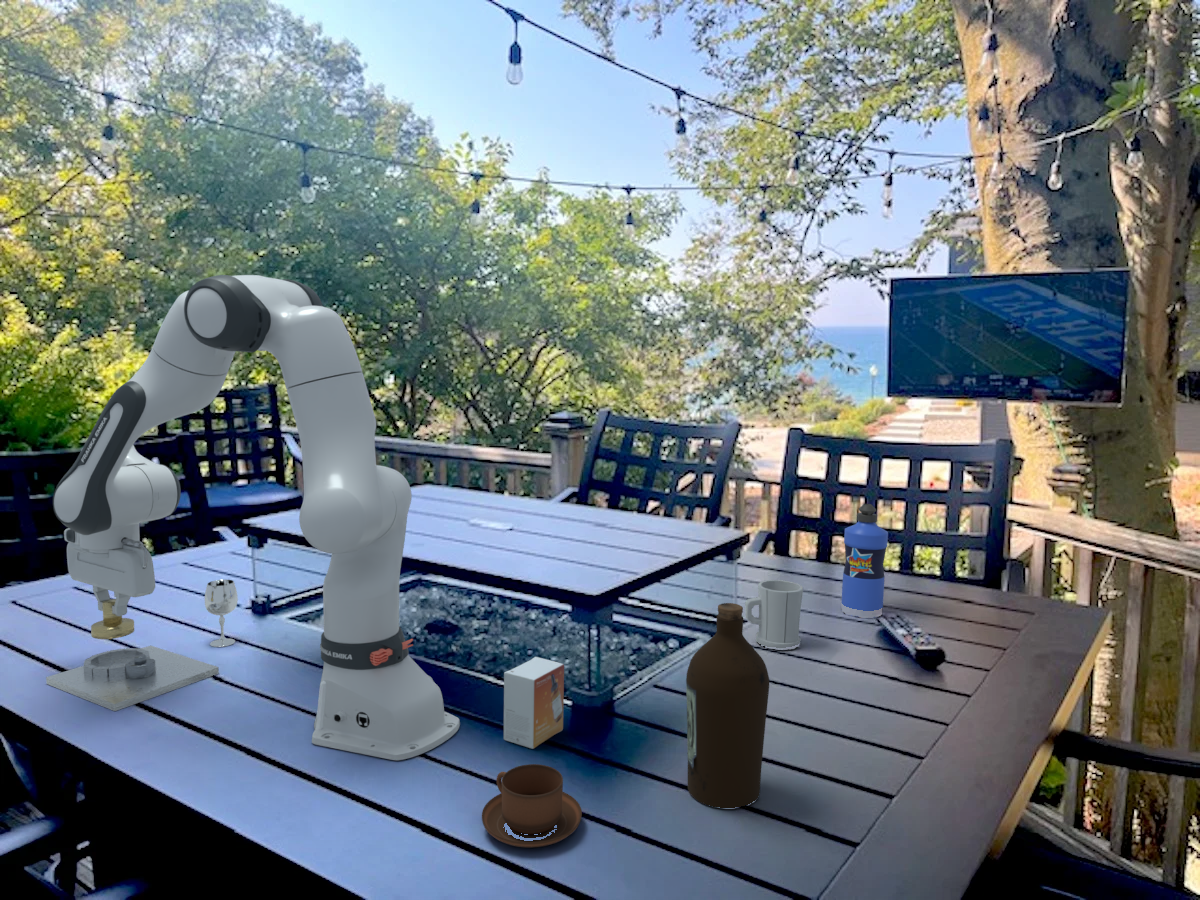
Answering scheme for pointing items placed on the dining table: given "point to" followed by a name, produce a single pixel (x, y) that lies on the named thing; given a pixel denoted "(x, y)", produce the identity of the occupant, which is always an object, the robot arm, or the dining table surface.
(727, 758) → the olive oil
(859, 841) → the dining table surface
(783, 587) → the cup
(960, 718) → the dining table surface
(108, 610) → the brass flanged cylinder
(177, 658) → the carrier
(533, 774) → the cup and saucer
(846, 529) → the water bottle
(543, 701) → the small box
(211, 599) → the wineglass
